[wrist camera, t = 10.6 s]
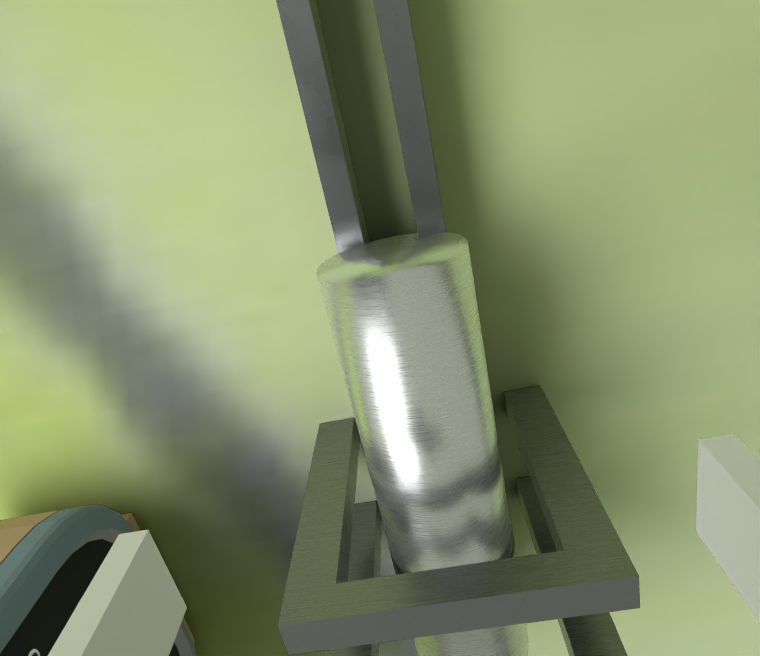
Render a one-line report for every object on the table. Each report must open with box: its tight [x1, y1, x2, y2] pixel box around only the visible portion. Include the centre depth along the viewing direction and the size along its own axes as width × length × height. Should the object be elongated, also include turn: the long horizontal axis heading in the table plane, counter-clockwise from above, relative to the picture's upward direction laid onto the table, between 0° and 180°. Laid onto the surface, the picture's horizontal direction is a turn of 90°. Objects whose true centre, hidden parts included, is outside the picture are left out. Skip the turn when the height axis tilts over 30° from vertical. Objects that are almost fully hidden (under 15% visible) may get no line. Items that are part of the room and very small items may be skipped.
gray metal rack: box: [276, 0, 640, 656], centre depth 22 cm, size 39×12×13 cm, turn 12°
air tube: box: [317, 232, 529, 656], centre depth 26 cm, size 22×6×6 cm, turn 12°
